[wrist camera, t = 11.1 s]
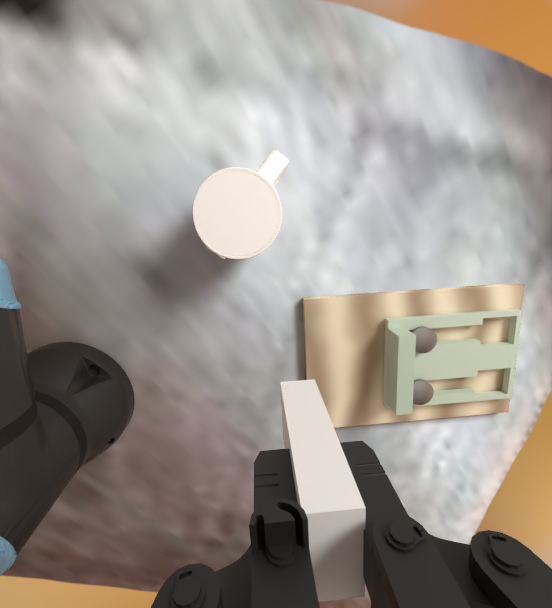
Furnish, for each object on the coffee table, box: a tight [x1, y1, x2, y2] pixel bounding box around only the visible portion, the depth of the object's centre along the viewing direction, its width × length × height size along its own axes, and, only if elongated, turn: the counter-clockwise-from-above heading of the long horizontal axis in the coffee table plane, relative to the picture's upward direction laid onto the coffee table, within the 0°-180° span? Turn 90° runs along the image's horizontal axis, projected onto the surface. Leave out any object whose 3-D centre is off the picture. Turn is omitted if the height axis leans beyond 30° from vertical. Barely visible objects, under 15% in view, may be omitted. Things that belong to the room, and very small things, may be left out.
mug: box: [193, 150, 289, 259], centre depth 33 cm, size 12×9×8 cm
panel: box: [383, 309, 522, 415], centre depth 40 cm, size 17×12×4 cm
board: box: [303, 283, 524, 428], centre depth 41 cm, size 28×18×4 cm, turn 93°
